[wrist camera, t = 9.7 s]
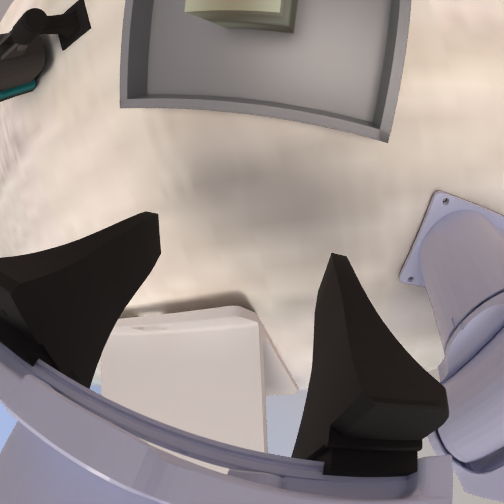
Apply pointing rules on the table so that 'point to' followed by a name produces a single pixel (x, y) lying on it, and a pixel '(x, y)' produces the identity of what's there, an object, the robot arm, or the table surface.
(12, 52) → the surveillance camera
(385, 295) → the table surface
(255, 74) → the tray
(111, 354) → the tablet stand
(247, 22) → the block
